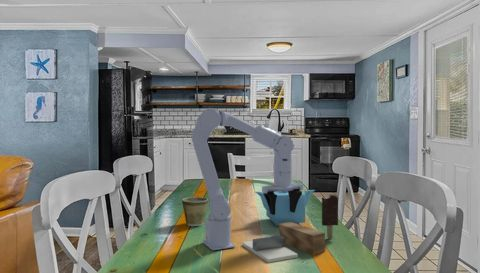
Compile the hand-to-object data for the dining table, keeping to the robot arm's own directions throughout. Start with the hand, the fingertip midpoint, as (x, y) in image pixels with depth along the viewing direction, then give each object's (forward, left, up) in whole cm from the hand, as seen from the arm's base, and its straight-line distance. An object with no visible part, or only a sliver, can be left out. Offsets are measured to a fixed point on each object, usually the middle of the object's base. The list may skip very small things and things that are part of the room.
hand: (282, 213), depth 122 cm
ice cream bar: (+3, +17, -10) cm, 20 cm away
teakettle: (-22, +14, -10) cm, 28 cm away
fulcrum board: (+5, -8, -10) cm, 14 cm away
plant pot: (-35, -18, -10) cm, 41 cm away
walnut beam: (+5, +4, -4) cm, 8 cm away
